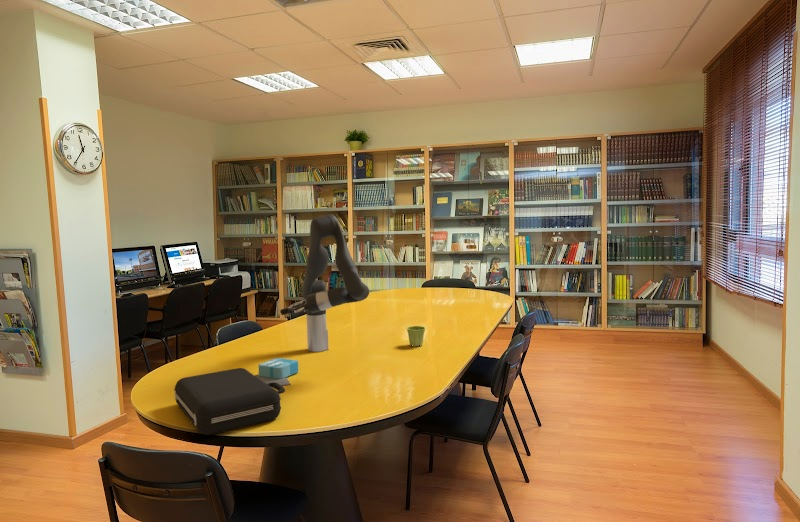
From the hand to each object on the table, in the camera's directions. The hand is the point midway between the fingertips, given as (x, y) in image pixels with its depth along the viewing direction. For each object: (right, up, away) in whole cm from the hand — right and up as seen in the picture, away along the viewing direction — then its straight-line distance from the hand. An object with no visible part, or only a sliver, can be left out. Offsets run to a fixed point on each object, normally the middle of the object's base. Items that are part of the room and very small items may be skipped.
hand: (281, 312), depth 217 cm
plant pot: (+57, -20, +40) cm, 72 cm away
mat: (-2, -25, -12) cm, 28 cm away
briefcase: (-5, -28, -43) cm, 52 cm away
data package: (+5, -22, -7) cm, 24 cm away
